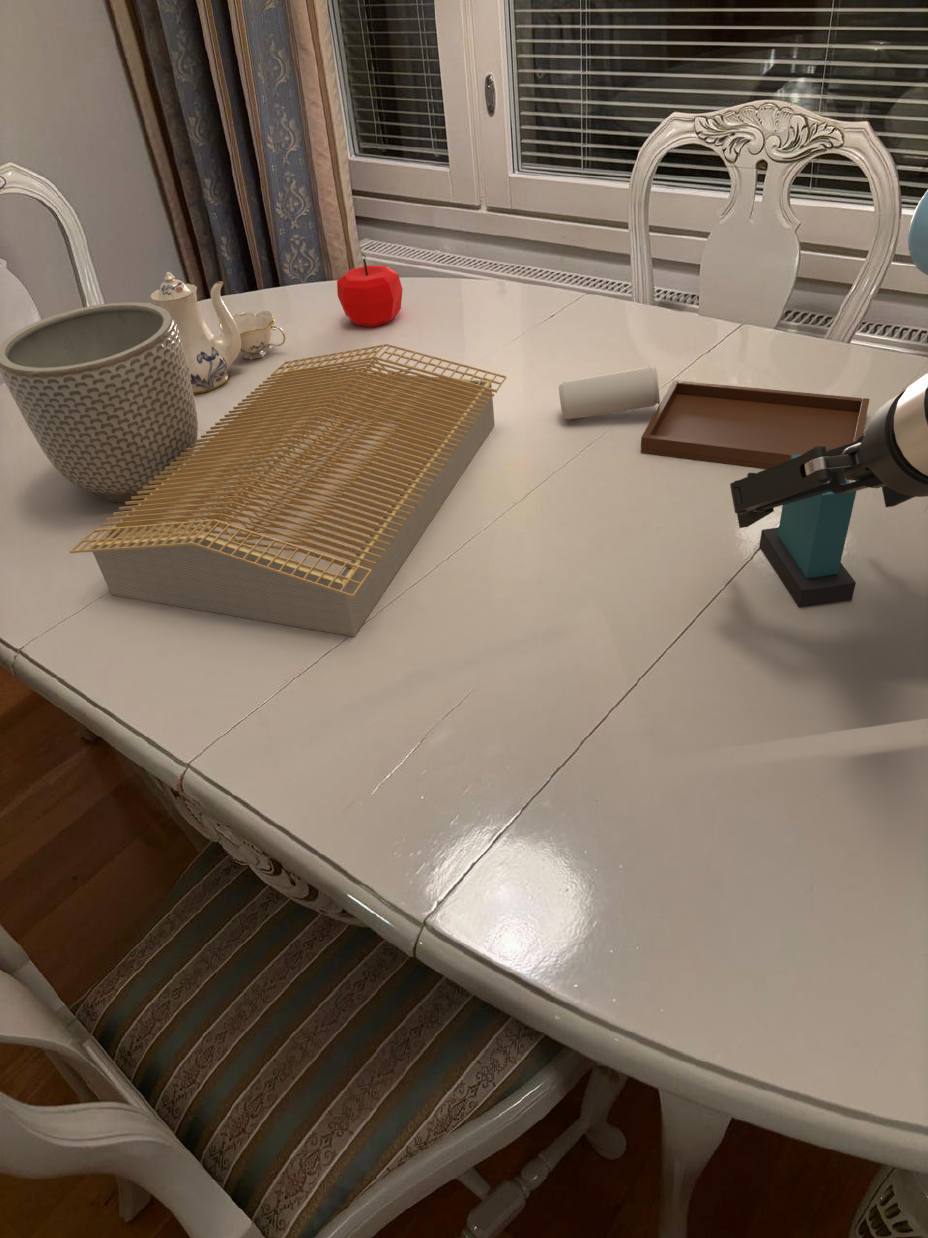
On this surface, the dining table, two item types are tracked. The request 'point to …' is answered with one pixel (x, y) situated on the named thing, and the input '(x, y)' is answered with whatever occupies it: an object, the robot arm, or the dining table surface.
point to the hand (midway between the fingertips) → (813, 502)
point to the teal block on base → (812, 548)
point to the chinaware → (202, 348)
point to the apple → (370, 294)
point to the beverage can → (609, 393)
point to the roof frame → (265, 582)
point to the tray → (750, 424)
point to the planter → (105, 394)
